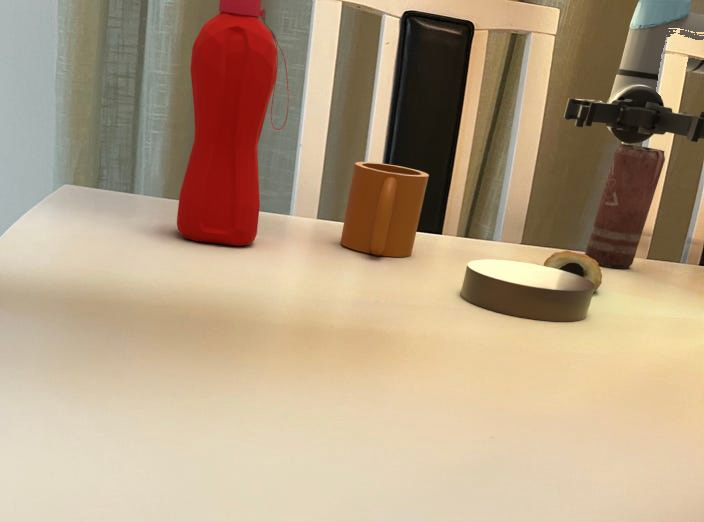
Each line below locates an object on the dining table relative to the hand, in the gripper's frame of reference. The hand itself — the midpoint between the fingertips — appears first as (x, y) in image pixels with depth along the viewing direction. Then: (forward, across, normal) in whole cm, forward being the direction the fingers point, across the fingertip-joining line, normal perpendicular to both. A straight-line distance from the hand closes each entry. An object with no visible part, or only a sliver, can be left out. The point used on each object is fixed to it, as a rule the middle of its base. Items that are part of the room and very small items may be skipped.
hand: (644, 122), depth 132 cm
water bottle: (+39, +44, -16) cm, 61 cm away
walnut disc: (+45, +10, -16) cm, 49 cm away
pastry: (+30, +5, -16) cm, 35 cm away
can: (+10, 0, -16) cm, 19 cm away
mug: (+30, +28, -16) cm, 44 cm away
